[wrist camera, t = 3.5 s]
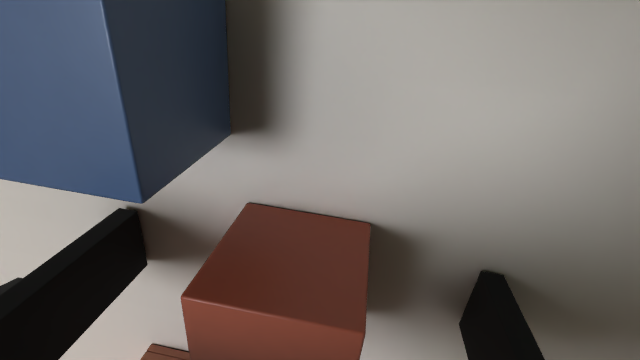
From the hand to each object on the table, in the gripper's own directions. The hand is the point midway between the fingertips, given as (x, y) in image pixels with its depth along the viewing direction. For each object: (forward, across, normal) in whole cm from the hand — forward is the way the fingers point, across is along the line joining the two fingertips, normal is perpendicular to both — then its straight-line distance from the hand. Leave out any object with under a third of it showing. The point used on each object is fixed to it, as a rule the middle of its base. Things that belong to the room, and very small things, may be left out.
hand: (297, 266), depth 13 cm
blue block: (0, -5, +7) cm, 9 cm away
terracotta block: (0, 0, 0) cm, 0 cm away
